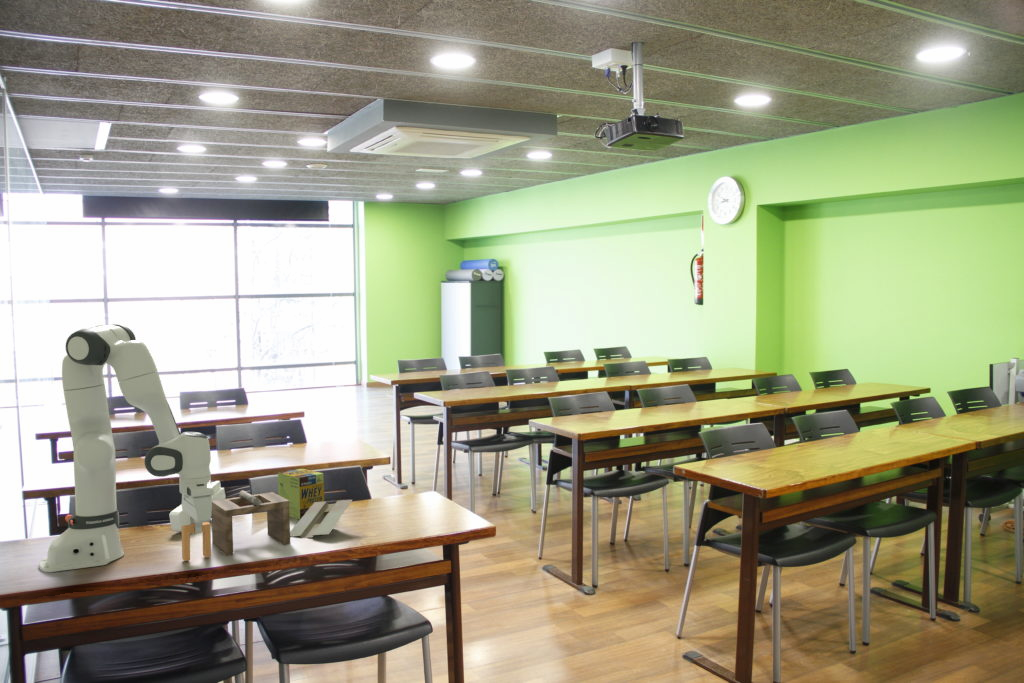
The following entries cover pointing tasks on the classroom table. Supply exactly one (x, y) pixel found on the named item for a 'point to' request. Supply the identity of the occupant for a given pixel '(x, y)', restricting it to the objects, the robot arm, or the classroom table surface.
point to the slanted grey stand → (320, 519)
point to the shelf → (229, 507)
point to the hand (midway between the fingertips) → (196, 531)
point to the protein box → (301, 490)
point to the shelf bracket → (182, 518)
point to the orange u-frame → (186, 540)
